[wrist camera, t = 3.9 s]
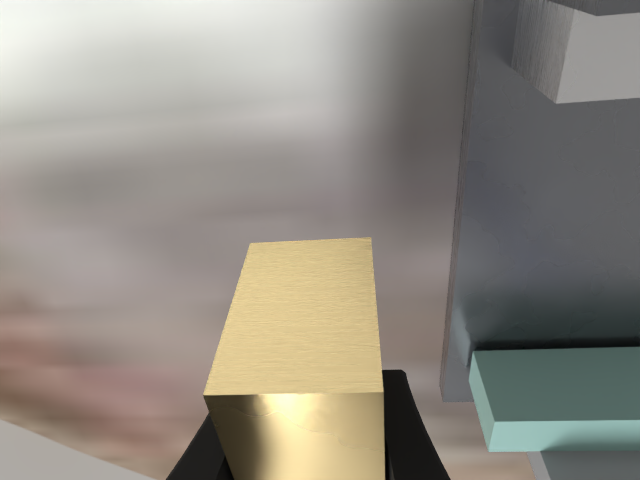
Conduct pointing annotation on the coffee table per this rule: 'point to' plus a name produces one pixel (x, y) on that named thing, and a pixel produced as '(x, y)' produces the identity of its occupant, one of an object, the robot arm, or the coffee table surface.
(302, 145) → the coffee table surface
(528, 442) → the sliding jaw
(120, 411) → the coffee table surface
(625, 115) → the grey slab
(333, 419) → the brass block
